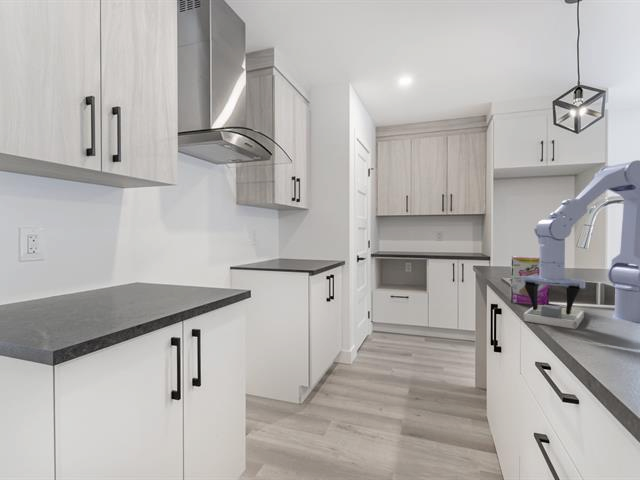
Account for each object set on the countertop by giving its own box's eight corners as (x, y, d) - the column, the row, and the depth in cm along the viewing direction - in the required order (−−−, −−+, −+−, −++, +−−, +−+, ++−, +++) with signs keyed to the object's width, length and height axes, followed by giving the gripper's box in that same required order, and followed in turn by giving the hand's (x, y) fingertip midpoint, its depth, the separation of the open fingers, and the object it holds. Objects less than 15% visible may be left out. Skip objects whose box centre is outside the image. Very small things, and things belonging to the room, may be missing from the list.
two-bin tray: (535, 312, 107) (535, 304, 107) (583, 319, 99) (583, 310, 98) (522, 322, 96) (523, 313, 96) (576, 331, 88) (576, 321, 88)
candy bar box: (510, 304, 118) (511, 257, 117) (510, 301, 122) (510, 255, 122) (549, 307, 113) (550, 257, 112) (547, 304, 117) (548, 256, 116)
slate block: (544, 318, 98) (544, 304, 97) (561, 321, 95) (561, 306, 95) (541, 321, 95) (541, 307, 94) (558, 324, 92) (558, 309, 92)
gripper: (518, 261, 96) (517, 309, 97) (583, 265, 86) (582, 318, 87) (524, 259, 101) (524, 305, 102) (586, 262, 91) (585, 313, 92)
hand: (551, 311), depth 94 cm, fingers open, 7 cm apart
